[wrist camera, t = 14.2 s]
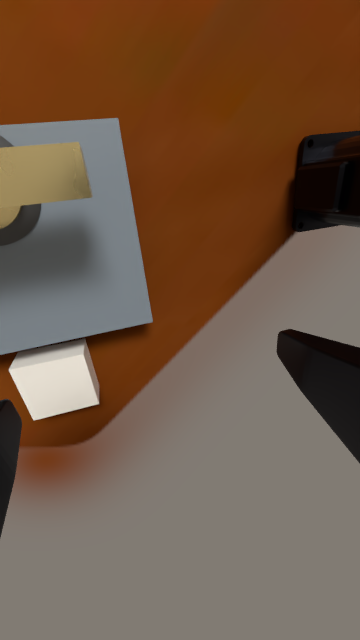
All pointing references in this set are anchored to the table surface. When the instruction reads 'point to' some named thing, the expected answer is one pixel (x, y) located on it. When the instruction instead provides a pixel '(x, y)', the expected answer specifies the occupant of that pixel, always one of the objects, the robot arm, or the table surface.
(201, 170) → the table surface
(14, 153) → the brass door handle
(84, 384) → the white square block
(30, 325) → the lock plate
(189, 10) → the table surface
